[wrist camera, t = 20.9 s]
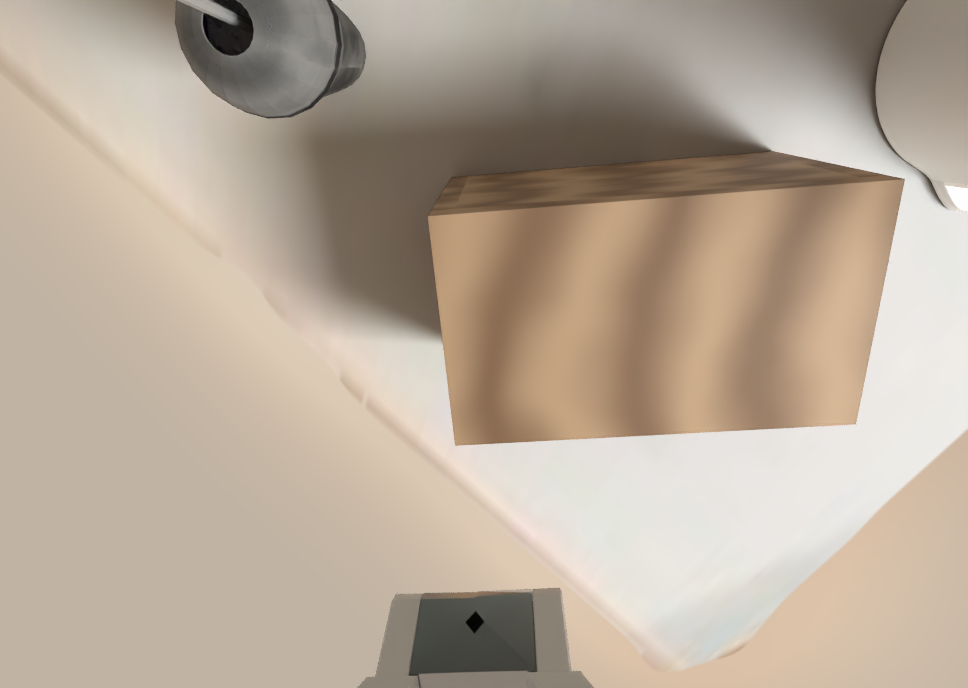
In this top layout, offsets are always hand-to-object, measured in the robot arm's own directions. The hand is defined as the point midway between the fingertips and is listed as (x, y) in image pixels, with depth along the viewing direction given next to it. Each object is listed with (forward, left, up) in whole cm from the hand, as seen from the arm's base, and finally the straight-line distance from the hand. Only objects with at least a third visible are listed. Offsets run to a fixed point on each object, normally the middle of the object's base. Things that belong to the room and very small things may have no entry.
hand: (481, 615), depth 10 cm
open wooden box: (-8, +3, -34) cm, 35 cm away
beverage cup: (+10, -12, -34) cm, 38 cm away
